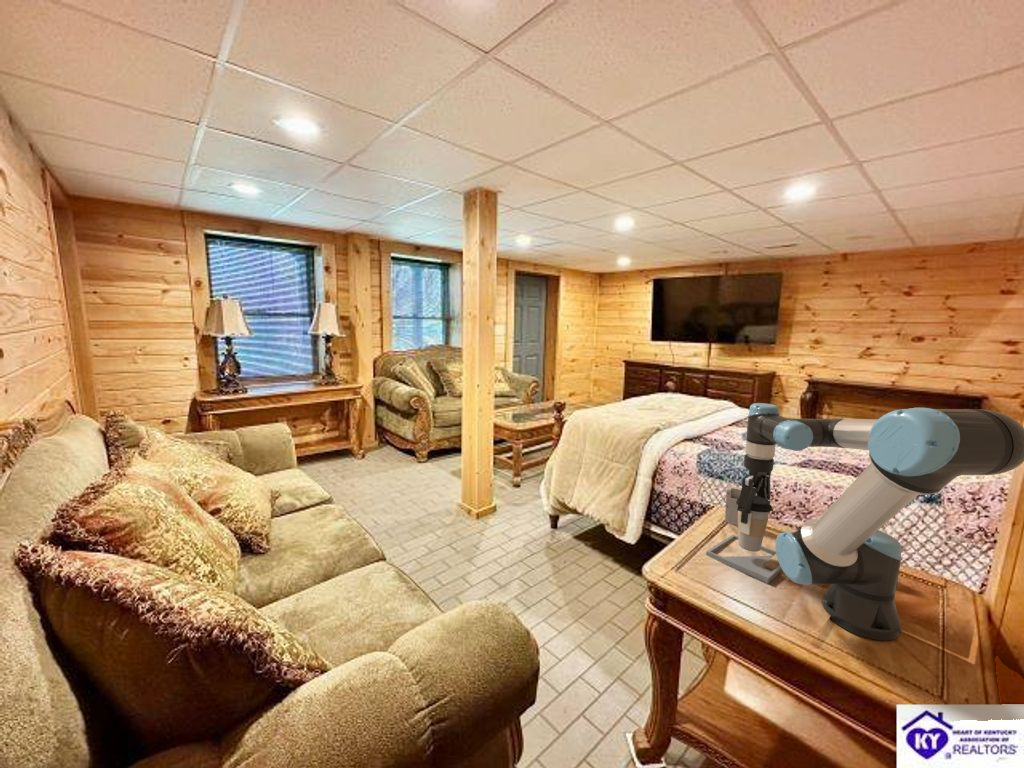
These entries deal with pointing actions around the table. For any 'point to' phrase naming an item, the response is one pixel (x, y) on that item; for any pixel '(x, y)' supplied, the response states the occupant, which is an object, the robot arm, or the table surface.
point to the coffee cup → (755, 524)
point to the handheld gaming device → (732, 505)
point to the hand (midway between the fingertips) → (751, 527)
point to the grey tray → (747, 562)
